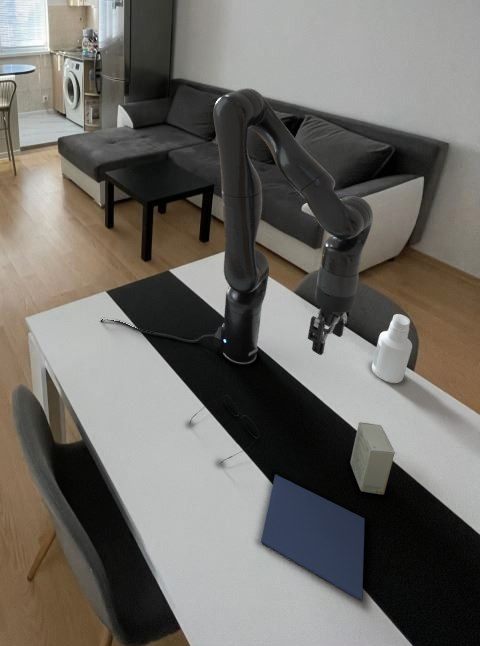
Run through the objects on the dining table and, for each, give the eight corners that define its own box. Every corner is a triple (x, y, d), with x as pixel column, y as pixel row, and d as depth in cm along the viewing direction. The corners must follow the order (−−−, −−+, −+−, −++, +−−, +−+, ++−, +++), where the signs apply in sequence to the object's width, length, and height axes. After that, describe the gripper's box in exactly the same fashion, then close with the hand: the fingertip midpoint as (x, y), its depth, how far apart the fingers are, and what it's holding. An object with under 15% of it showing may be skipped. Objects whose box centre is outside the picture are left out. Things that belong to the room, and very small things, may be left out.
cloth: (260, 542, 80) (260, 541, 80) (275, 475, 91) (275, 474, 90) (361, 601, 71) (362, 600, 71) (364, 519, 82) (364, 518, 82)
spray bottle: (398, 365, 114) (413, 312, 108) (406, 386, 108) (423, 331, 102) (368, 360, 116) (381, 307, 110) (375, 380, 110) (389, 325, 104)
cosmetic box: (384, 495, 86) (397, 454, 81) (359, 491, 87) (371, 451, 82) (371, 464, 91) (382, 424, 87) (348, 460, 92) (358, 421, 88)
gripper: (335, 264, 99) (326, 320, 105) (301, 290, 92) (294, 348, 97) (370, 279, 93) (359, 338, 99) (338, 307, 86) (327, 369, 91)
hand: (327, 343), depth 98 cm, fingers open, 8 cm apart
